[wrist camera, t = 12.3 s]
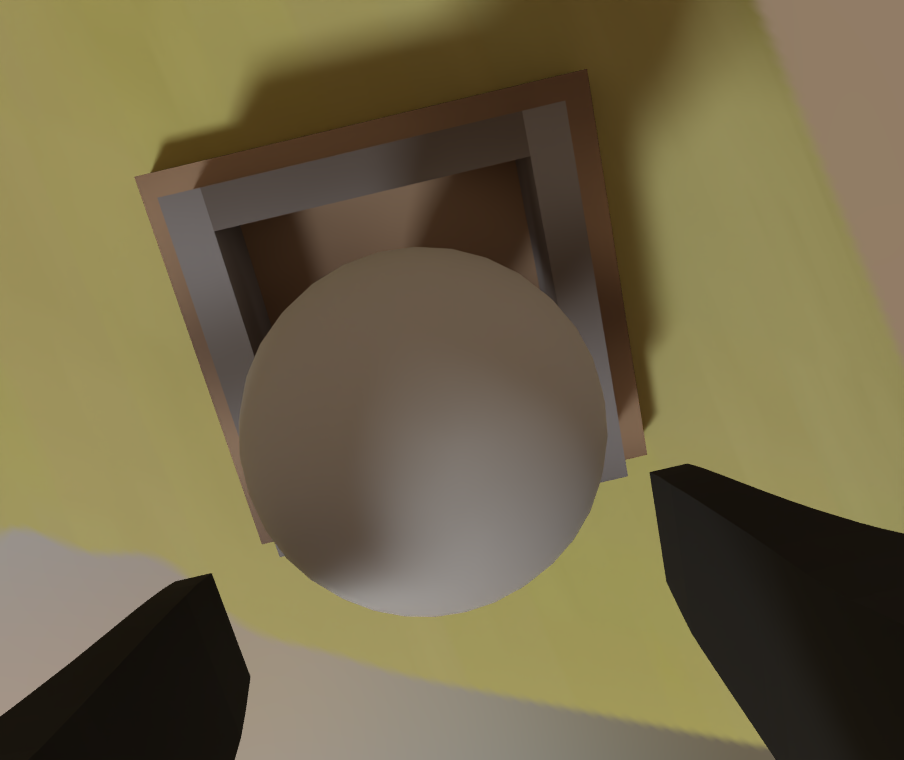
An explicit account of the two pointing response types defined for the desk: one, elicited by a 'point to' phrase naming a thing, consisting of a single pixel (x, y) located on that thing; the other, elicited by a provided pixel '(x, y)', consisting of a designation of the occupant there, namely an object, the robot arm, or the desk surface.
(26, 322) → the desk surface
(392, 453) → the lightbulb
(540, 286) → the socket base
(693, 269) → the desk surface
